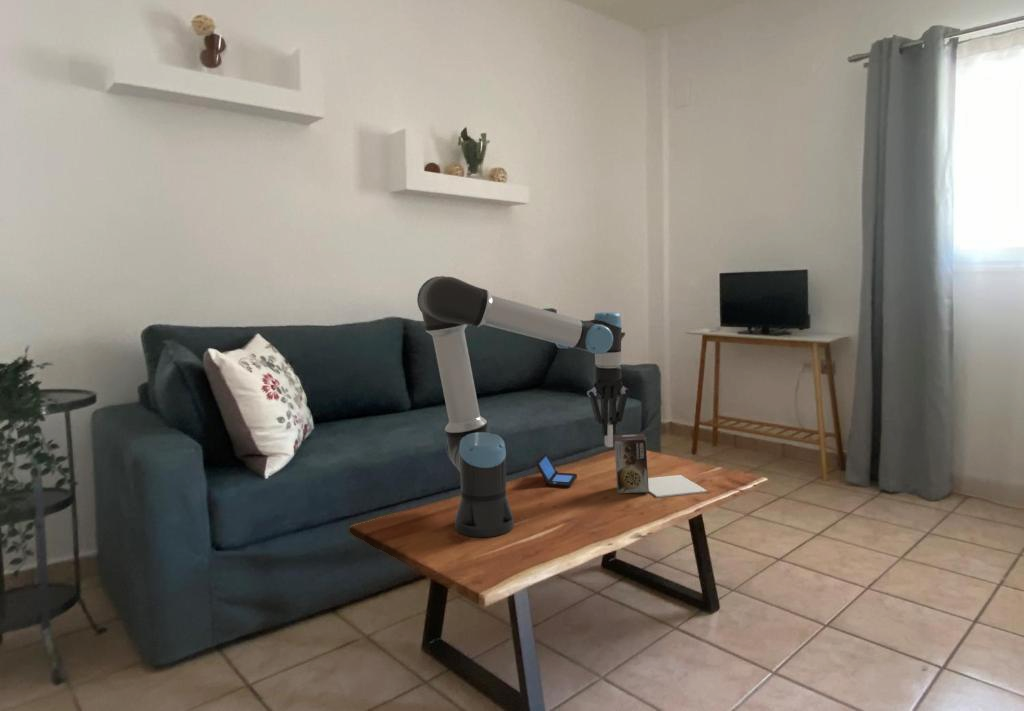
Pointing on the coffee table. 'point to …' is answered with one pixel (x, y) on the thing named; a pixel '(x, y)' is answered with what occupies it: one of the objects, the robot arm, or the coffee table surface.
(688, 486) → the felt mat
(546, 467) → the handheld game console
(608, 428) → the robot arm
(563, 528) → the coffee table surface
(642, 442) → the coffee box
